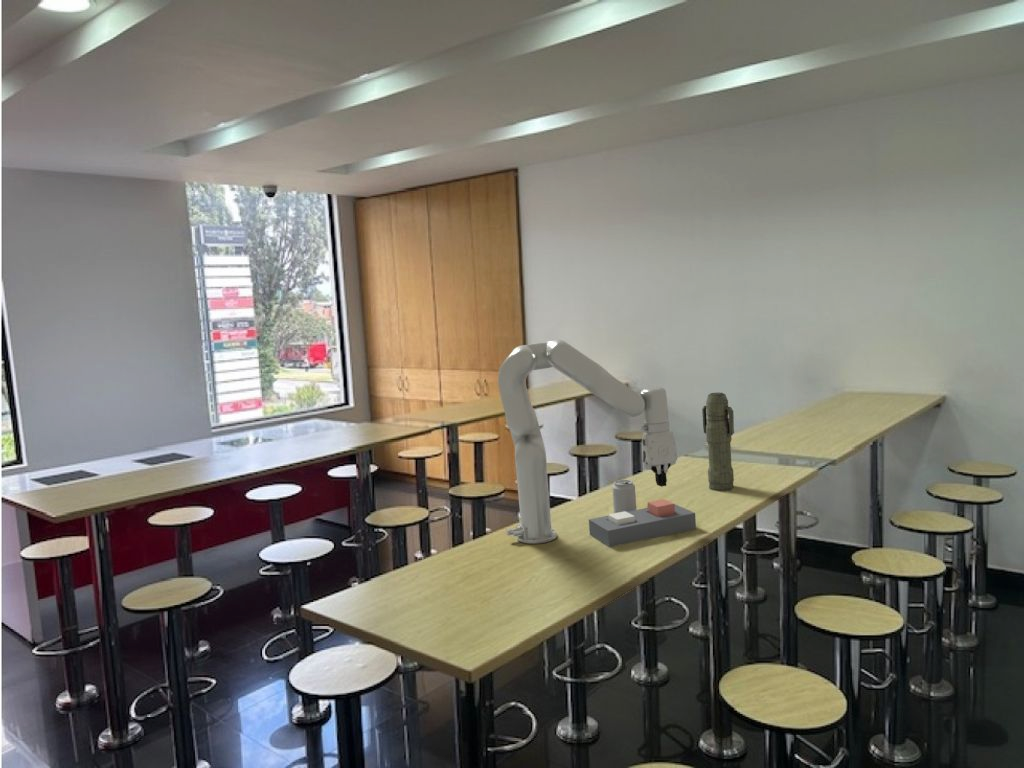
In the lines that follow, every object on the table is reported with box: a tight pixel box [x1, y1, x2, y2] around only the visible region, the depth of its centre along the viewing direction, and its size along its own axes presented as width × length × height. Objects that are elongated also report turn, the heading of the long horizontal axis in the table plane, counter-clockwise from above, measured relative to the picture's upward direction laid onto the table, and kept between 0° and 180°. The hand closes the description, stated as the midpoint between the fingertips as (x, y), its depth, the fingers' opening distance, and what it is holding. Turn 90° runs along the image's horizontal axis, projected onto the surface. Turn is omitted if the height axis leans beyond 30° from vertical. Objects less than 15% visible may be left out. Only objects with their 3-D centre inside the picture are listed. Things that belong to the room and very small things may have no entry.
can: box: [611, 479, 638, 514], centre depth 239 cm, size 8×8×12 cm
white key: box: [607, 511, 635, 525], centre depth 220 cm, size 6×6×4 cm
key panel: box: [588, 503, 697, 548], centre depth 223 cm, size 30×13×5 cm, turn 109°
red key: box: [647, 498, 675, 517], centre depth 224 cm, size 6×6×4 cm
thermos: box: [701, 392, 735, 492], centre depth 262 cm, size 9×12×35 cm
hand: (661, 485), depth 224 cm, fingers closed
